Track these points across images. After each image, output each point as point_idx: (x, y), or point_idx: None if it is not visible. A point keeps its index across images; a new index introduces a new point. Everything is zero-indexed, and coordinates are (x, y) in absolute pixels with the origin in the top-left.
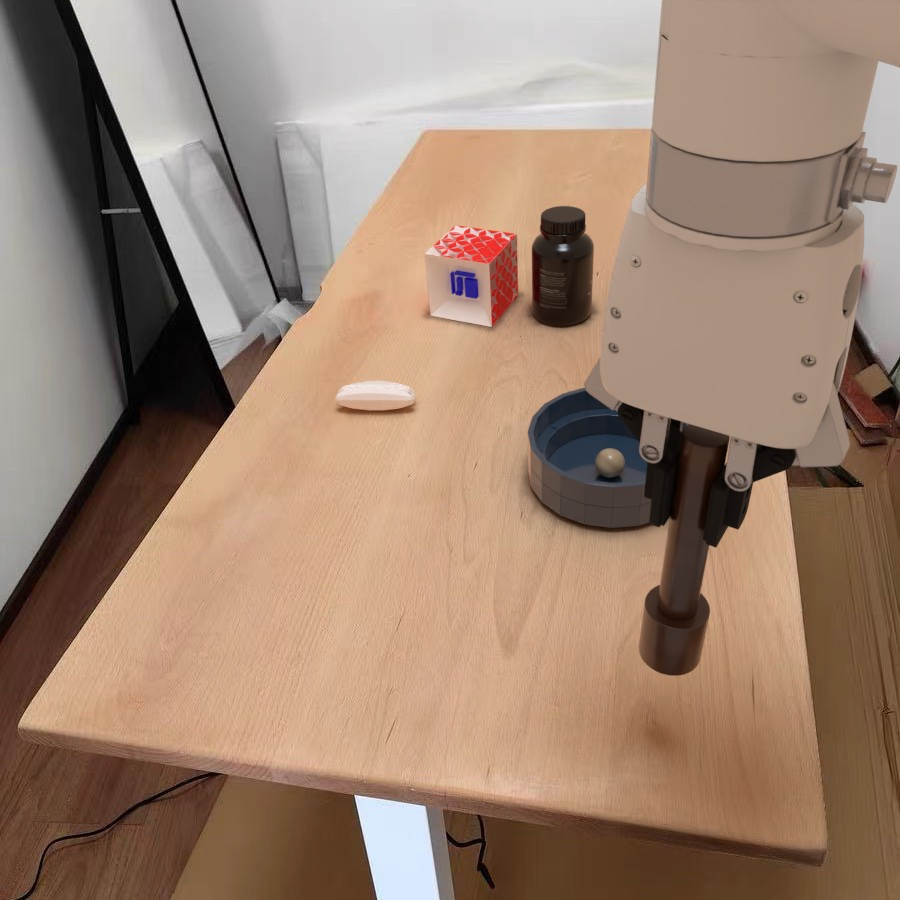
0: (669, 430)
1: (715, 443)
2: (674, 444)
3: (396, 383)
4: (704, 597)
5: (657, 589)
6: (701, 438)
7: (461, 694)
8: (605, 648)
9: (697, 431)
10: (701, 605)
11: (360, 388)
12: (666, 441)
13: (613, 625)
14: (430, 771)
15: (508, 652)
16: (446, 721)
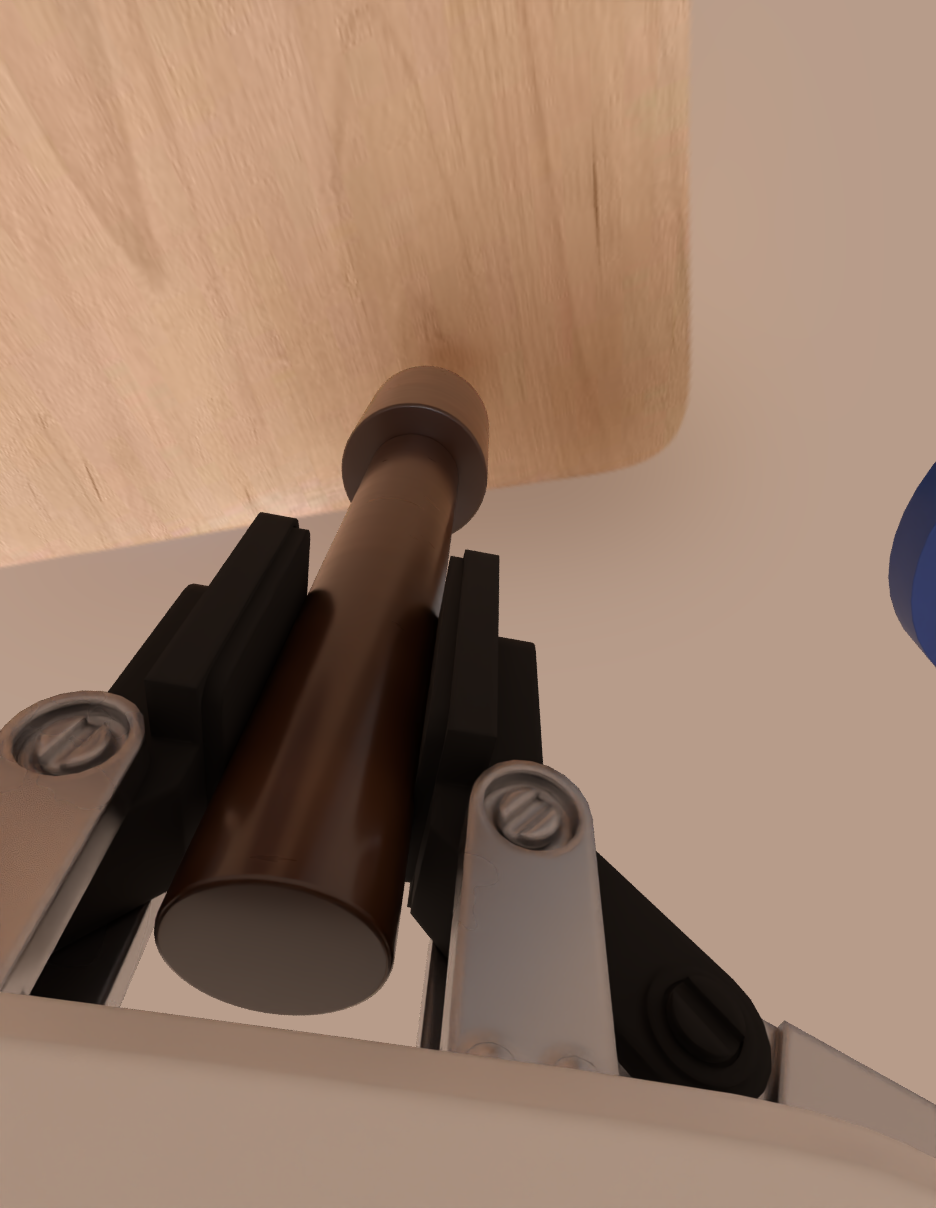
0: (97, 870)
1: (339, 1000)
2: (168, 853)
3: None
4: (467, 432)
5: (358, 445)
6: (265, 983)
7: (139, 390)
8: (309, 191)
9: (226, 947)
10: (465, 461)
11: None
12: (130, 959)
13: (301, 113)
14: (181, 520)
15: (153, 273)
16: (150, 443)
